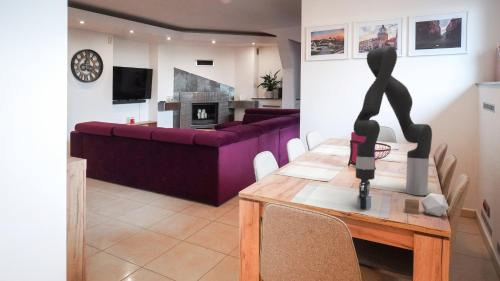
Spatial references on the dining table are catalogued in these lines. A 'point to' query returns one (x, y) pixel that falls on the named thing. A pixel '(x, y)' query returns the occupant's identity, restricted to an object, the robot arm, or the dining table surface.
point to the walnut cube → (412, 206)
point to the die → (435, 204)
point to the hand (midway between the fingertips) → (363, 206)
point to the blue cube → (368, 202)
